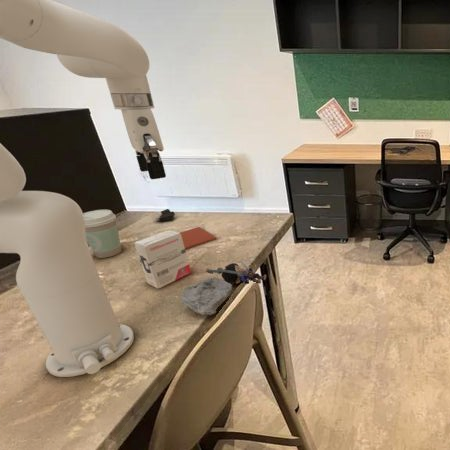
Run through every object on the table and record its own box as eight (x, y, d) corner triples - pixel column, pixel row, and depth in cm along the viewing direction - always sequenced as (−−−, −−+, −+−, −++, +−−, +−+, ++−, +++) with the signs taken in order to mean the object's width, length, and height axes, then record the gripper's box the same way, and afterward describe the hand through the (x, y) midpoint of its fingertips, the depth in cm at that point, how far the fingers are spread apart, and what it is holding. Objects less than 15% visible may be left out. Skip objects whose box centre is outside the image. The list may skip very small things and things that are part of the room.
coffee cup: (88, 252, 98) (72, 213, 93) (124, 243, 103) (112, 206, 98) (91, 263, 92) (74, 223, 87) (129, 253, 98) (116, 215, 93)
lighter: (178, 211, 125) (163, 215, 125) (175, 206, 124) (160, 210, 124) (173, 220, 119) (157, 225, 118) (170, 215, 118) (154, 220, 117)
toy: (262, 258, 83) (208, 250, 86) (252, 282, 80) (196, 273, 83) (272, 267, 88) (220, 259, 91) (262, 290, 85) (209, 281, 88)
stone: (214, 261, 78) (216, 288, 71) (236, 277, 83) (239, 304, 75) (180, 286, 77) (178, 316, 70) (203, 301, 82) (204, 331, 74)
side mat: (216, 239, 107) (216, 237, 107) (182, 250, 100) (181, 248, 100) (199, 228, 114) (198, 226, 114) (166, 238, 107) (165, 236, 107)
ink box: (180, 267, 92) (169, 228, 87) (192, 272, 90) (181, 232, 85) (146, 283, 85) (132, 241, 80) (158, 289, 83) (144, 246, 78)
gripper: (162, 103, 75) (180, 178, 82) (143, 99, 86) (161, 165, 93) (120, 104, 70) (143, 184, 77) (106, 100, 81) (127, 170, 88)
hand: (153, 174), depth 85 cm, fingers open, 9 cm apart
